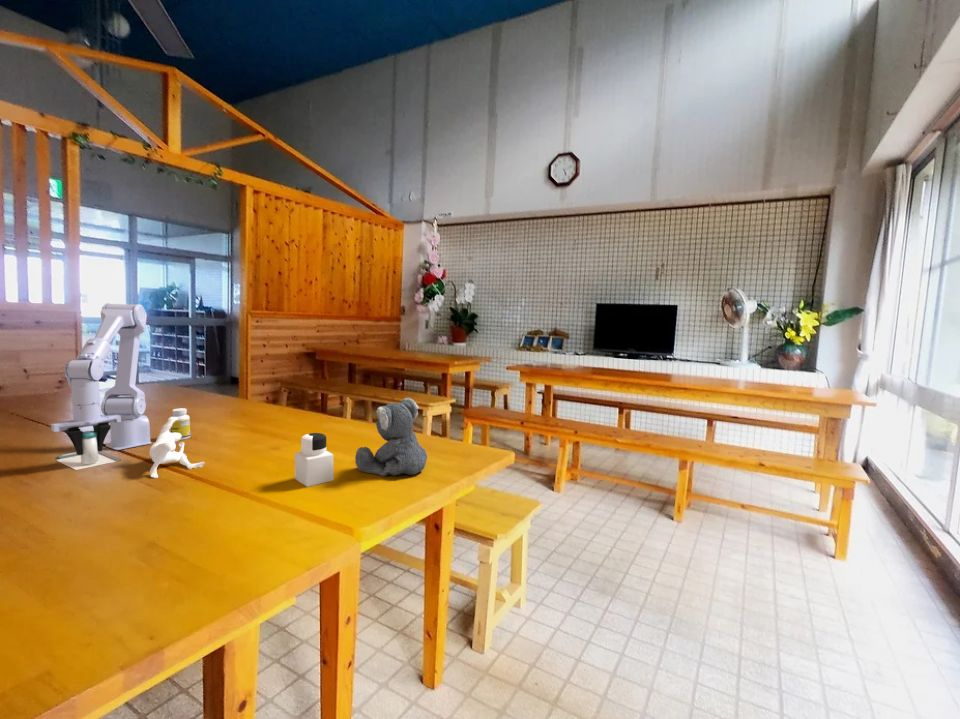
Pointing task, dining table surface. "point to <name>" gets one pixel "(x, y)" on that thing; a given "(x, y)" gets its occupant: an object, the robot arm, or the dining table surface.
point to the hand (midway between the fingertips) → (89, 452)
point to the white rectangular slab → (102, 459)
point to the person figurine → (168, 449)
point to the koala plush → (394, 442)
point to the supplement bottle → (181, 423)
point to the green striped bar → (67, 455)
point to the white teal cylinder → (89, 447)
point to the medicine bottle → (313, 461)
